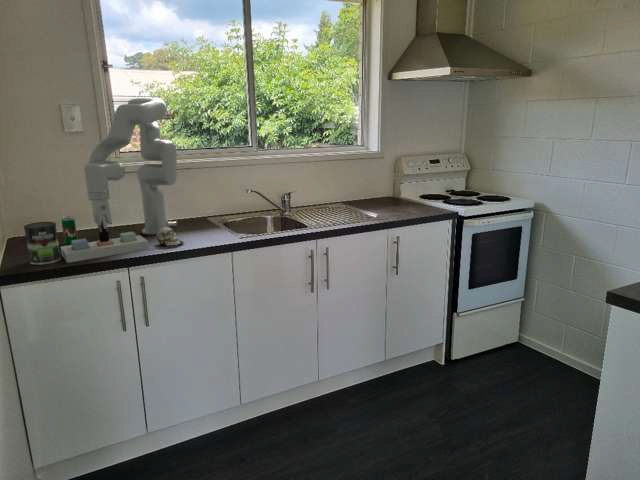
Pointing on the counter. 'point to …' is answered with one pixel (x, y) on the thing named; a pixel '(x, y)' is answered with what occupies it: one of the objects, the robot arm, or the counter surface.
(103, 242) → the terracotta key
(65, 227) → the soda can
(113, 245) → the keypad housing
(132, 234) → the sage key
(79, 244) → the slate key
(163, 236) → the skull
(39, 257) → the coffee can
